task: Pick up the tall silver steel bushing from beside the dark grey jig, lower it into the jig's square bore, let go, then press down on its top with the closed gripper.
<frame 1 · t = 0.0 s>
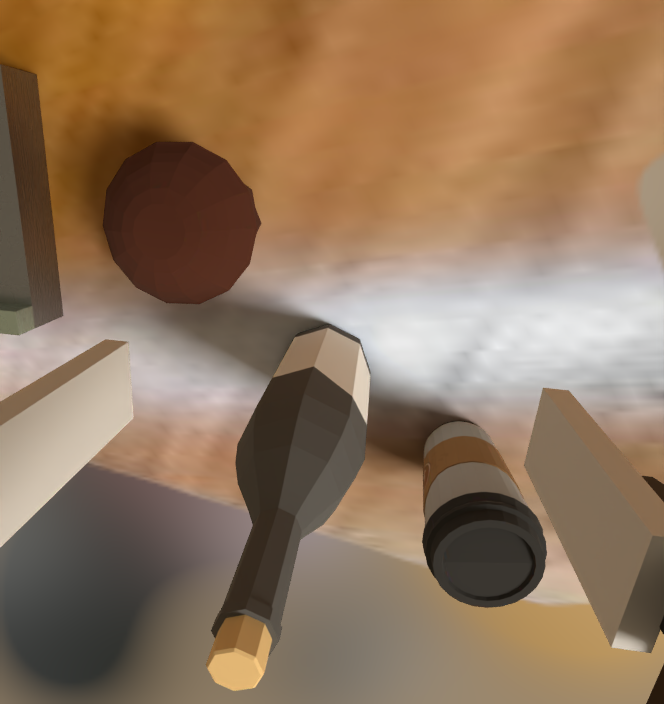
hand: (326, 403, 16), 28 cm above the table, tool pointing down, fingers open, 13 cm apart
wine bottle: (327, 364, 46), on the table
muffin: (209, 219, 42), on the table
coffee cup: (457, 447, 47), on the table
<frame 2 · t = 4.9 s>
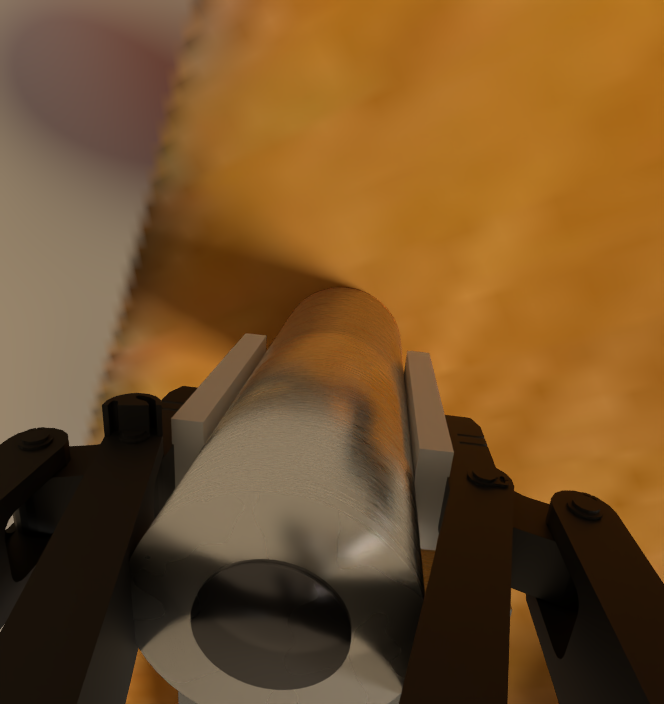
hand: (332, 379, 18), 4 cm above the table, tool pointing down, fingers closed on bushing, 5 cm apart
jig: (329, 669, 28), on the table
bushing: (341, 345, 21), on the table, touching gripper
when the fingers open (5 cm above the table, at t = 13.1 s): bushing drops 1 cm, resting in jig.
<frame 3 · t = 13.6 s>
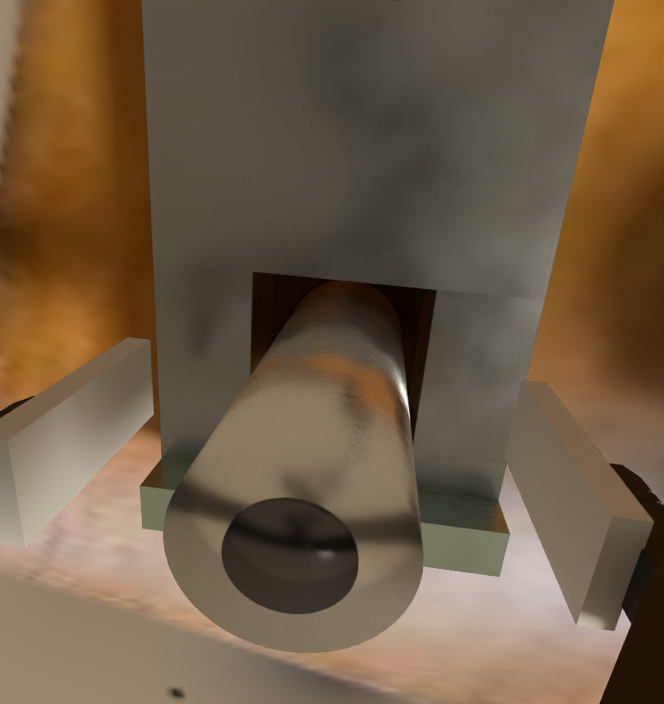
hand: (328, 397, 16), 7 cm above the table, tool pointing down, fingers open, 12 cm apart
jig: (350, 268, 22), on the table
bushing: (345, 334, 23), resting in jig
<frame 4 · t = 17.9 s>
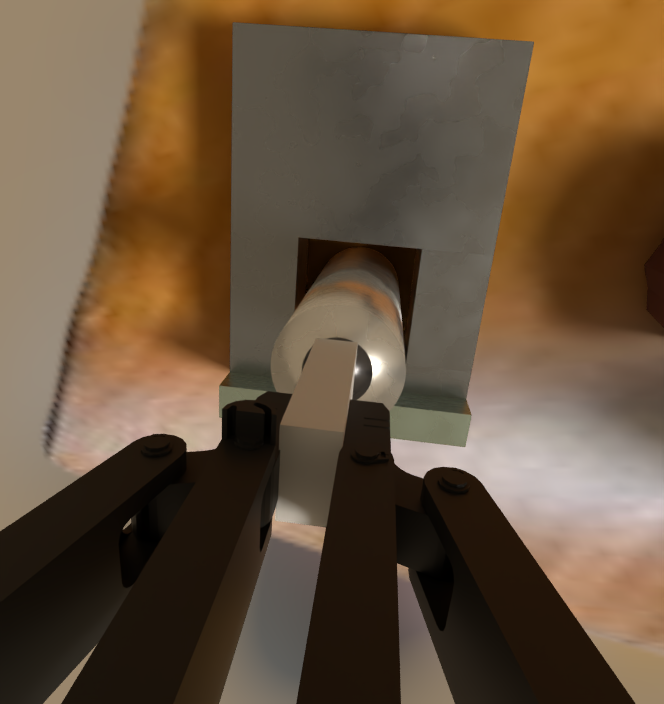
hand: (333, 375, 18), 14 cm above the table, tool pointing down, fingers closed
jig: (362, 239, 30), on the table
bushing: (358, 287, 31), resting in jig, touching gripper
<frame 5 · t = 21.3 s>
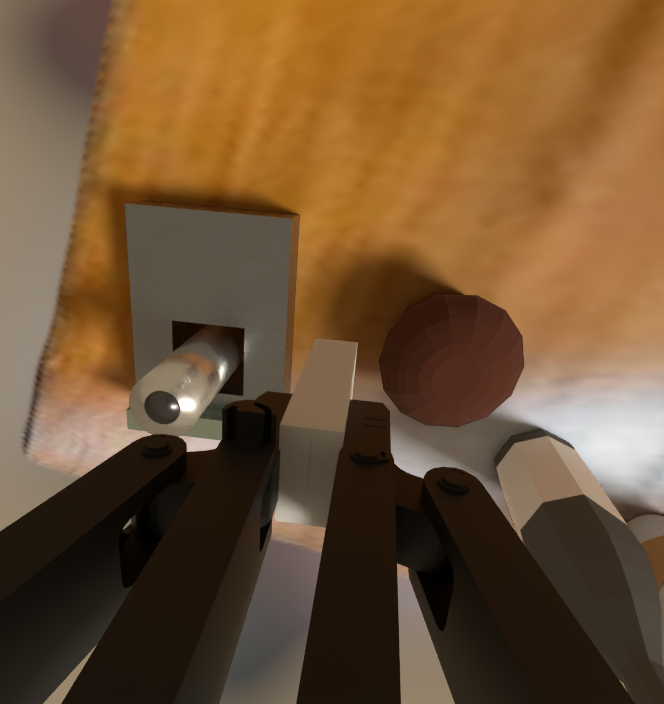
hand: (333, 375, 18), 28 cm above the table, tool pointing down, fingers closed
wine bottle: (533, 462, 50), on the table
jig: (221, 315, 48), on the table
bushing: (222, 344, 49), resting in jig
muffin: (441, 337, 47), on the table
coffee cup: (646, 536, 52), on the table
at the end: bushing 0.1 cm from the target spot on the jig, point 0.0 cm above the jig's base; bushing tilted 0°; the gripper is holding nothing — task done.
